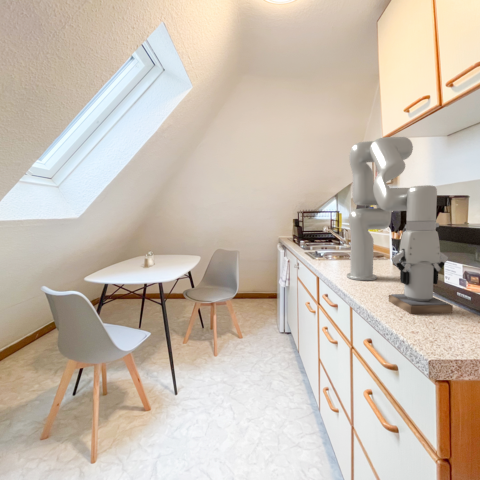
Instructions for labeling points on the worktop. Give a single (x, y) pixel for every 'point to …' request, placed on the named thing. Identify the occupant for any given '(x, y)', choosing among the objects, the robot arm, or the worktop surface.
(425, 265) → the can
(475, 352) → the worktop surface
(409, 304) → the plinth
